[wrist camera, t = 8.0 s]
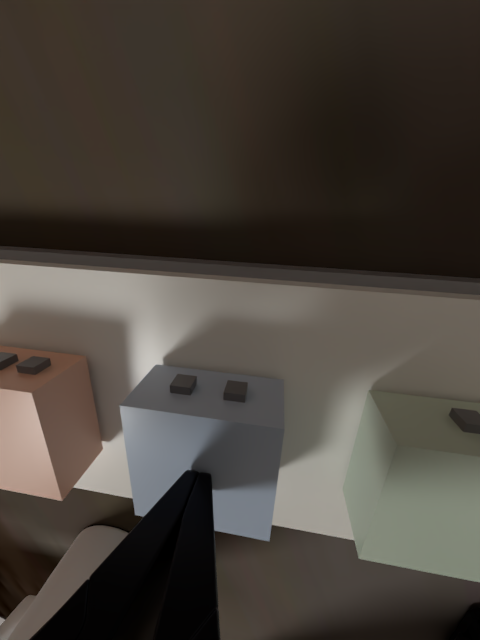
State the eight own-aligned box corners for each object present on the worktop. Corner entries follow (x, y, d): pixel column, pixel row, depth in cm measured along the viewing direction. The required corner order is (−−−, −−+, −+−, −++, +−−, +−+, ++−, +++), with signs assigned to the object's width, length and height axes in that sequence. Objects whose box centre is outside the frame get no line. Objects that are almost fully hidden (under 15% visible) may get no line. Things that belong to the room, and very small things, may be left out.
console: (582, 282, 10) (679, 301, 7) (464, 510, 14) (501, 567, 12) (-30, 241, 13) (-98, 245, 10) (31, 438, 17) (-8, 471, 15)
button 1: (529, 401, 9) (619, 466, 6) (471, 510, 10) (525, 591, 8) (370, 382, 9) (400, 436, 7) (342, 488, 11) (358, 558, 9)
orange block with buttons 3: (84, 349, 11) (29, 385, 8) (103, 449, 12) (62, 500, 10) (-23, 336, 11) (-103, 366, 9) (10, 433, 13) (-49, 479, 11)
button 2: (284, 372, 10) (285, 420, 7) (271, 476, 11) (269, 541, 9) (155, 357, 10) (118, 397, 8) (163, 458, 12) (135, 515, 10)
